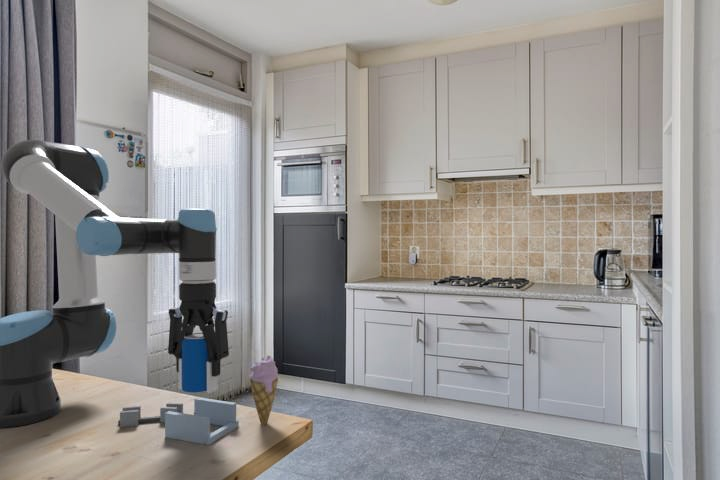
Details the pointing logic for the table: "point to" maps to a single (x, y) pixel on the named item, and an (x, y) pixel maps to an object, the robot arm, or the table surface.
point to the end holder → (202, 421)
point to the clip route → (133, 417)
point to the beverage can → (194, 364)
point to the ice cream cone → (264, 386)
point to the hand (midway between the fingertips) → (198, 389)
